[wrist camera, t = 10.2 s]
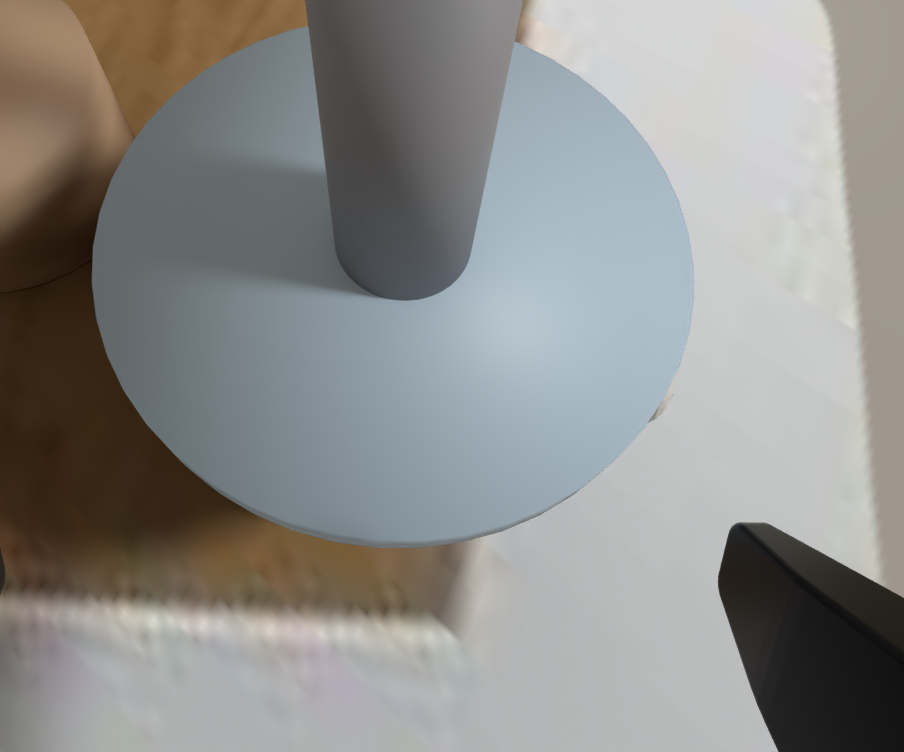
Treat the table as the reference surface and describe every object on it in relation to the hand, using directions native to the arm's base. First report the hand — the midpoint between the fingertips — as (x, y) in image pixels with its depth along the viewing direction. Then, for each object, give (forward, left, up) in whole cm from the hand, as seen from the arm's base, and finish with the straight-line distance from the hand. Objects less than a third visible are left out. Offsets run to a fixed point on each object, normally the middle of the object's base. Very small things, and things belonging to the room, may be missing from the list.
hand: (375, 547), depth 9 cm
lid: (+6, +4, -6) cm, 9 cm away
